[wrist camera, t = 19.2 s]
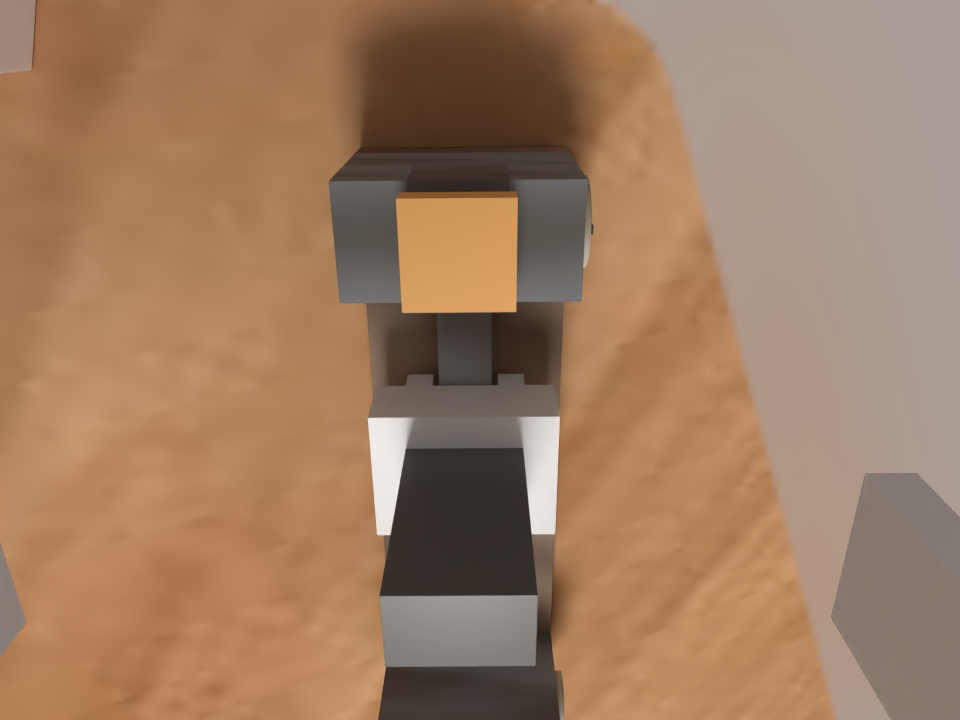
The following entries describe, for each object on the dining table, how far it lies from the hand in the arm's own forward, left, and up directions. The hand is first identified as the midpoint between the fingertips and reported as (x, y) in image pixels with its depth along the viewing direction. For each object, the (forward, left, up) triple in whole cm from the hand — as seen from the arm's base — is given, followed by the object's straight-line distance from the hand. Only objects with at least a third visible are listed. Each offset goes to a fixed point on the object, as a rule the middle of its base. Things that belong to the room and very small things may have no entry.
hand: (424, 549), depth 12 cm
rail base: (-13, 0, -25) cm, 28 cm away
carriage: (-11, 0, -23) cm, 25 cm away
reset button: (0, 0, -19) cm, 19 cm away
